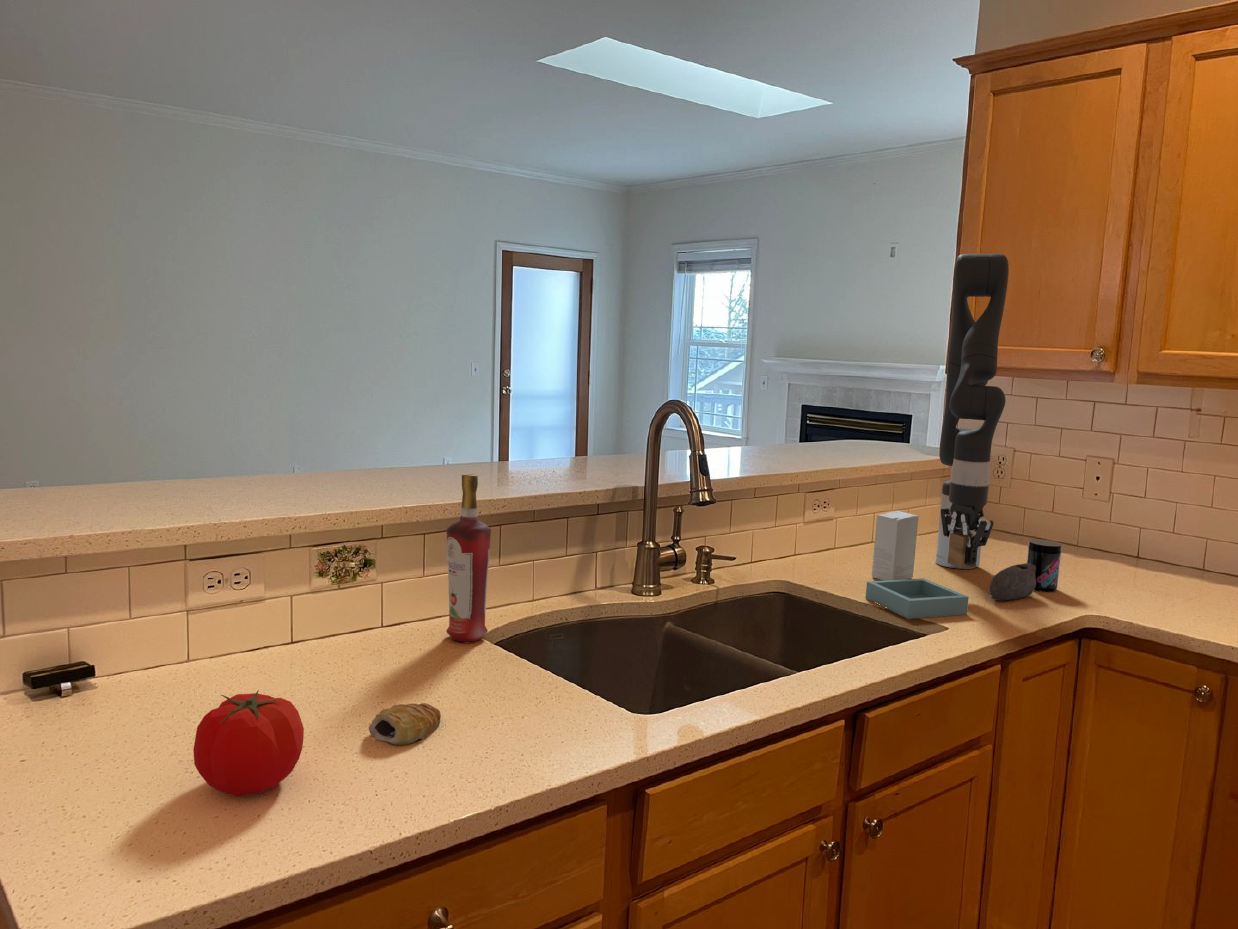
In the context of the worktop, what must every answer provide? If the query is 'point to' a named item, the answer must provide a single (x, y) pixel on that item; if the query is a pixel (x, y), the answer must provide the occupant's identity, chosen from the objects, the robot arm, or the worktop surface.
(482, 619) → the liquor
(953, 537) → the walnut block
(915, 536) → the skincare box
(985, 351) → the robot arm
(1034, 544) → the supplement container
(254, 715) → the tomato
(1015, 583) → the perforated stone tool
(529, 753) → the worktop surface
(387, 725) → the pastry
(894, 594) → the tray
